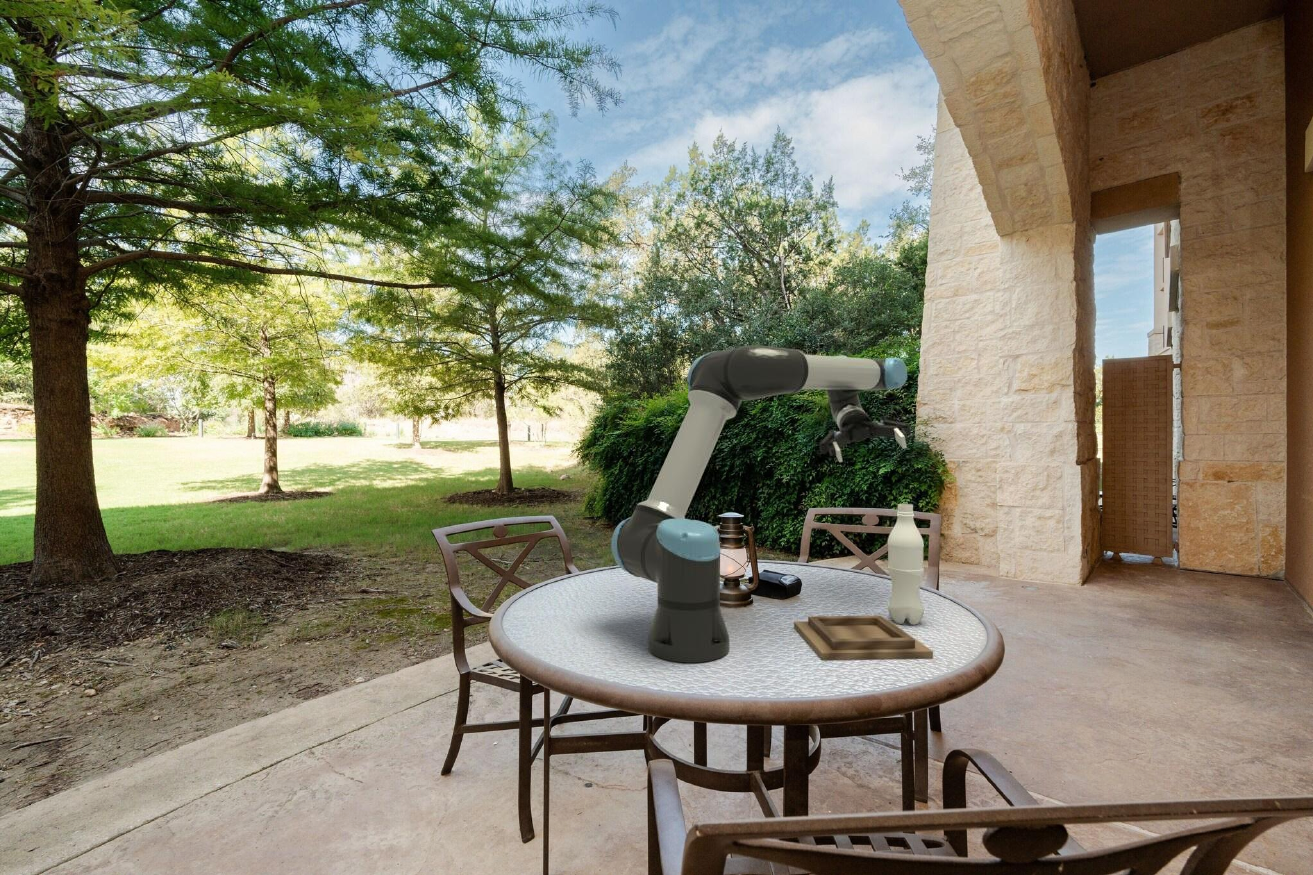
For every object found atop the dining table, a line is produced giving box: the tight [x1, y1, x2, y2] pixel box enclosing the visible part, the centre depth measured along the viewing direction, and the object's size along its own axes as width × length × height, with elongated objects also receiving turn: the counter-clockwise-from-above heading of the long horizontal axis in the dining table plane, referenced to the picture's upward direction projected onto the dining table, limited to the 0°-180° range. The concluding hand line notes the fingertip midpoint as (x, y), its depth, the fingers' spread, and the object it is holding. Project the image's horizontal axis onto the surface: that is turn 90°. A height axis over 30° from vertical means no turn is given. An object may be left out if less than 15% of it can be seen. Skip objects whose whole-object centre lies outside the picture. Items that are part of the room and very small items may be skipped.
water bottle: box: [887, 503, 925, 626], centre depth 126 cm, size 7×7×25 cm
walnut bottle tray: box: [793, 615, 934, 661], centre depth 113 cm, size 20×18×3 cm
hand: (871, 449), depth 128 cm, fingers open, 13 cm apart
